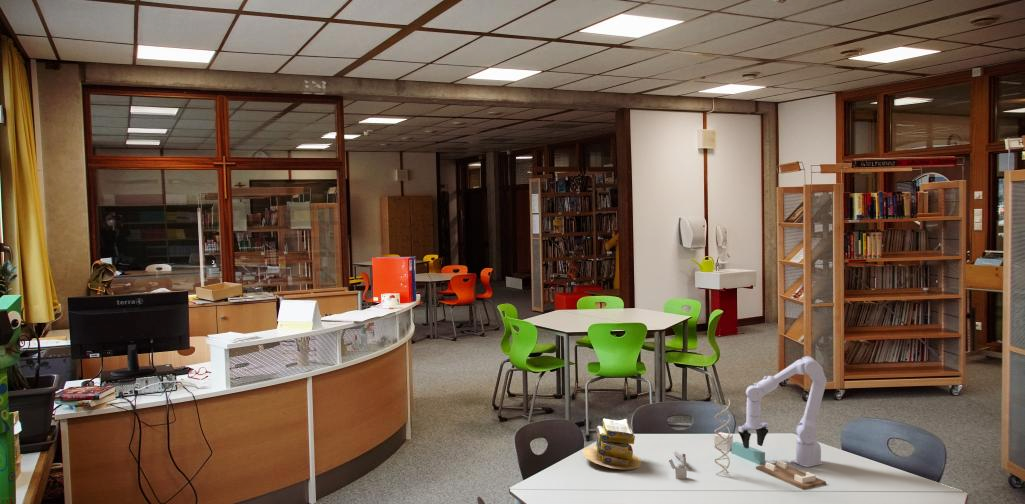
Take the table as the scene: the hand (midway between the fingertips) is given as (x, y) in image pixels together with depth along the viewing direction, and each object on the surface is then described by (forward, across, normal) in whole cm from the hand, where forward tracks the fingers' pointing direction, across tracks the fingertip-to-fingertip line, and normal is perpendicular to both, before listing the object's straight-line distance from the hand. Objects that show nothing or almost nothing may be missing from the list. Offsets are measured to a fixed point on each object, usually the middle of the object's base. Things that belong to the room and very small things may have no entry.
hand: (753, 446), depth 296 cm
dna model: (+6, +22, +6) cm, 24 cm away
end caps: (+6, 0, +20) cm, 21 cm away
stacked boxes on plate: (+7, +54, -25) cm, 60 cm away
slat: (+6, 0, -3) cm, 7 cm away
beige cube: (+6, 0, -18) cm, 19 cm away
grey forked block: (+6, +41, +2) cm, 41 cm away
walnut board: (+6, 0, +20) cm, 21 cm away
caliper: (+7, +28, -13) cm, 31 cm away
